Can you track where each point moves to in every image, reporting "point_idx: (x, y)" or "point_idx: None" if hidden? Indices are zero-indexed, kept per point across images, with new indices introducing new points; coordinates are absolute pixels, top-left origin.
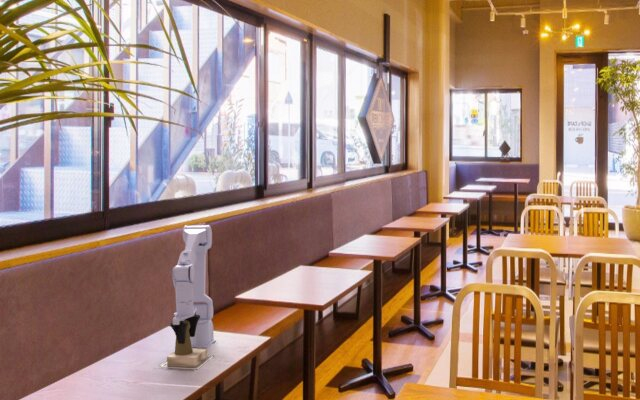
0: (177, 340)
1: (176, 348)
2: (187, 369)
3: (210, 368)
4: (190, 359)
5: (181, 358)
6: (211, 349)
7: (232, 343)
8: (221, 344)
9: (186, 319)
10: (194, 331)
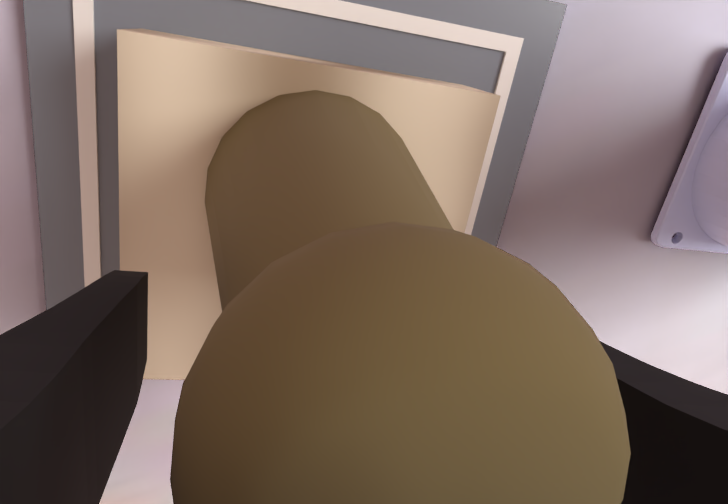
0: (83, 288)
1: (230, 158)
2: (68, 284)
3: (169, 427)
4: None
5: (120, 235)
6: (619, 286)
7: (712, 378)
8: (715, 317)
9: (717, 498)
10: None
